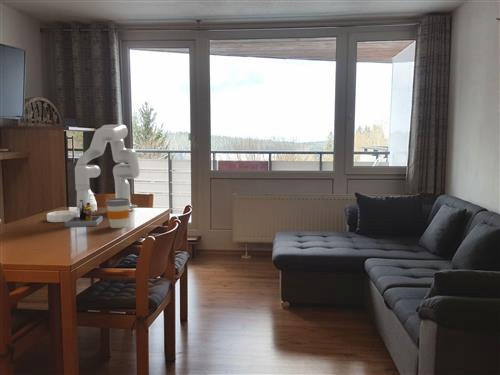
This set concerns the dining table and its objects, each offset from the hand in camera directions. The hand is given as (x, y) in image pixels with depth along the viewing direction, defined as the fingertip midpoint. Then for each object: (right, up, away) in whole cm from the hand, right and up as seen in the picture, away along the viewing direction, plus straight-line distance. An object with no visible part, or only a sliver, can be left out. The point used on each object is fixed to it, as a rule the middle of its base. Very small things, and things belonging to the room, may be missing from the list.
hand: (84, 218), depth 240 cm
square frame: (0, -3, 0) cm, 3 cm away
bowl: (-18, -2, +14) cm, 23 cm away
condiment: (0, -3, +1) cm, 3 cm away
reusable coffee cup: (+23, -4, -9) cm, 25 cm away
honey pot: (-16, +2, +46) cm, 49 cm away
